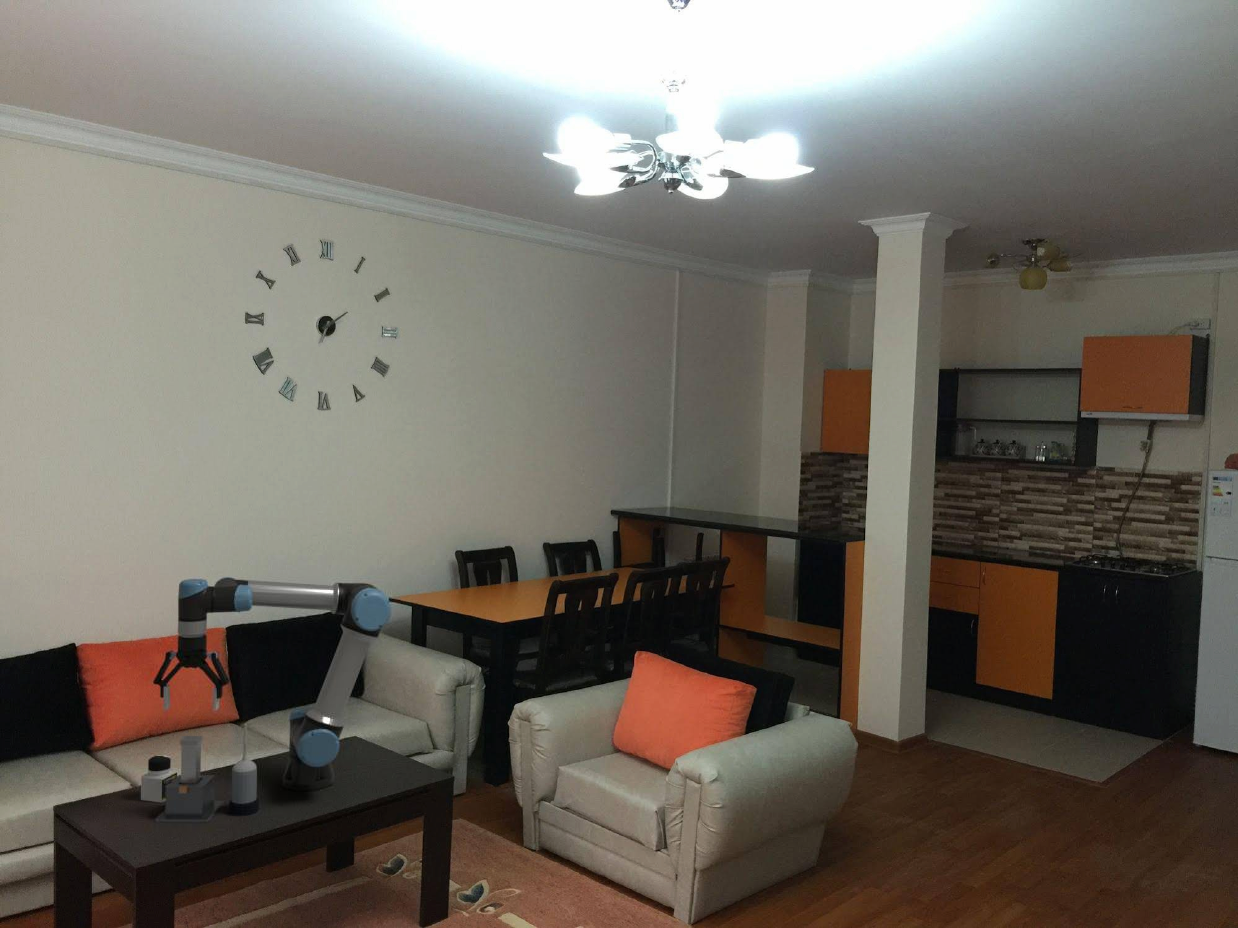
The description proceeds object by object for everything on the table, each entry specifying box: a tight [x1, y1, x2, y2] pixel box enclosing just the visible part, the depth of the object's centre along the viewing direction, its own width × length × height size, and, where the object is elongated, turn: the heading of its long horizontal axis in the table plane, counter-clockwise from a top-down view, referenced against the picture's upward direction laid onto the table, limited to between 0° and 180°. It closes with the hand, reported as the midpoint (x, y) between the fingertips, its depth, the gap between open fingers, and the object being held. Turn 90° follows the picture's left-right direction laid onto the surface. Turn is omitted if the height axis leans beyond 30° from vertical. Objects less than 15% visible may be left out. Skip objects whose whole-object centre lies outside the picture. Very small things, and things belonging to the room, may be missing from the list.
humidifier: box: [228, 723, 260, 817], centre depth 293 cm, size 8×8×25 cm
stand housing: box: [154, 774, 225, 823], centre depth 291 cm, size 14×14×9 cm
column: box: [179, 735, 203, 785], centre depth 291 cm, size 5×5×21 cm
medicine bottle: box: [140, 754, 178, 803], centre depth 302 cm, size 7×7×12 cm
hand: (191, 709), depth 290 cm, fingers open, 13 cm apart
